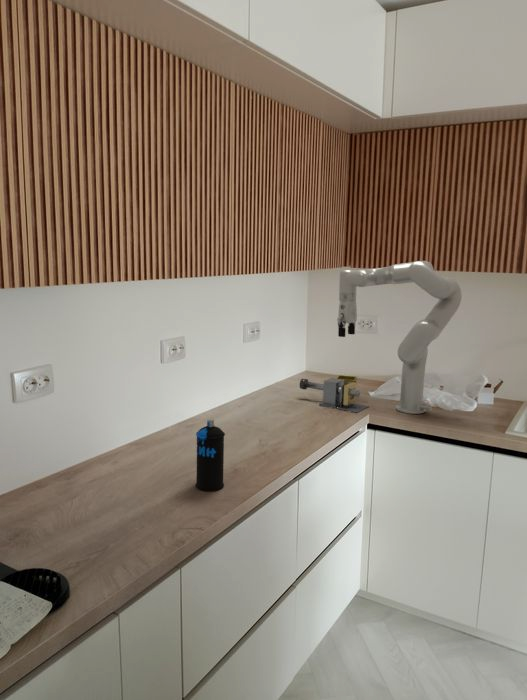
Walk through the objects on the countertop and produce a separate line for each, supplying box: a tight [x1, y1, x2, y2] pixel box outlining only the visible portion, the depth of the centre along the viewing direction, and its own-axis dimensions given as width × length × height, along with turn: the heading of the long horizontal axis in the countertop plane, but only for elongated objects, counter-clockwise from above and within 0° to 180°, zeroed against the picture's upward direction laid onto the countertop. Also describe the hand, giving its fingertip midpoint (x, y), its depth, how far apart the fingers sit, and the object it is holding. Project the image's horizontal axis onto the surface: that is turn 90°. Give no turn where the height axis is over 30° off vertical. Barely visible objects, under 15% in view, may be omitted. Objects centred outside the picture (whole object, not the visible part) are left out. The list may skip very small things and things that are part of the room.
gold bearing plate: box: [343, 382, 358, 406], centre depth 257 cm, size 2×8×8 cm, turn 147°
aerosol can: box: [195, 418, 226, 492], centre depth 169 cm, size 8×8×20 cm
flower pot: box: [336, 374, 358, 386], centre depth 277 cm, size 9×9×9 cm
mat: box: [335, 402, 370, 414], centre depth 257 cm, size 10×12×1 cm
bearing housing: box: [318, 377, 344, 409], centre depth 261 cm, size 8×11×11 cm
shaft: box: [299, 378, 361, 398], centre depth 262 cm, size 28×5×5 cm, turn 57°
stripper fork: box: [340, 382, 351, 408], centre depth 258 cm, size 1×9×10 cm, turn 147°
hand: (346, 335), depth 266 cm, fingers open, 9 cm apart
